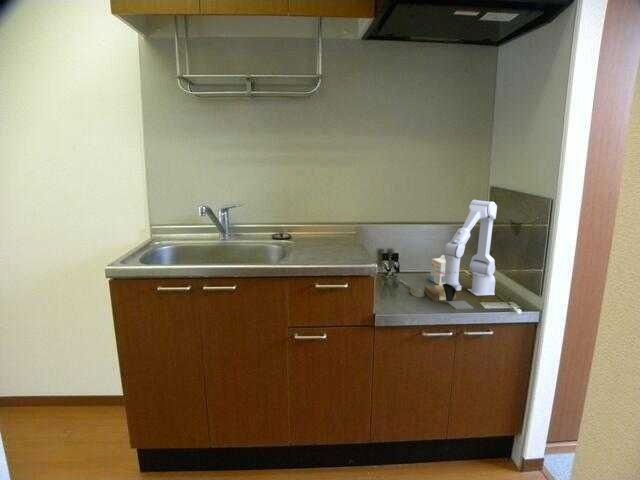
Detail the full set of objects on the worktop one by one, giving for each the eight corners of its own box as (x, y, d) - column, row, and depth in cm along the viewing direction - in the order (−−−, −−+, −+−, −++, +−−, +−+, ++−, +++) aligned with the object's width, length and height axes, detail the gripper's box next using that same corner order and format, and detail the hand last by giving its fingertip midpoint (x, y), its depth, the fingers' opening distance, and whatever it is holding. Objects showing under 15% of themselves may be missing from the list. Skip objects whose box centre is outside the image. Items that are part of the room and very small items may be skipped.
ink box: (429, 280, 202) (431, 255, 200) (443, 278, 205) (445, 253, 202) (439, 285, 194) (441, 259, 191) (453, 284, 197) (456, 258, 194)
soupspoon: (413, 299, 178) (426, 299, 179) (414, 292, 177) (427, 292, 179) (394, 282, 199) (406, 282, 200) (395, 276, 198) (407, 276, 199)
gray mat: (464, 301, 173) (464, 300, 173) (473, 308, 166) (473, 307, 165) (447, 302, 172) (447, 301, 172) (455, 309, 164) (455, 308, 164)
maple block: (442, 295, 181) (443, 284, 180) (448, 299, 175) (449, 289, 174) (433, 295, 181) (434, 285, 179) (439, 300, 175) (440, 289, 174)
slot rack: (444, 291, 185) (445, 285, 185) (455, 300, 175) (456, 293, 174) (424, 292, 184) (424, 286, 183) (434, 301, 173) (434, 294, 173)
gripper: (435, 266, 174) (433, 295, 176) (451, 276, 160) (448, 307, 162) (450, 265, 175) (448, 294, 177) (467, 275, 161) (464, 306, 163)
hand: (449, 300), depth 170 cm, fingers closed
